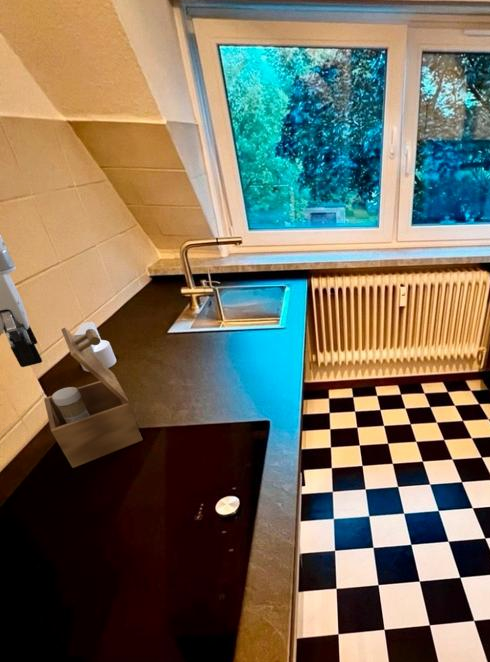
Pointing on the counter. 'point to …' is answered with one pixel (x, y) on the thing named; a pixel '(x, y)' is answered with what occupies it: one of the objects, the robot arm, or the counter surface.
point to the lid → (93, 360)
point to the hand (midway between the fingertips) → (30, 354)
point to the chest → (94, 425)
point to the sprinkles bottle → (70, 404)
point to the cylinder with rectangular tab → (97, 346)
